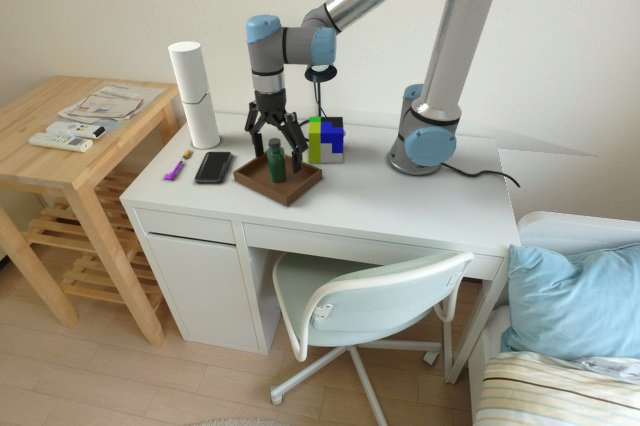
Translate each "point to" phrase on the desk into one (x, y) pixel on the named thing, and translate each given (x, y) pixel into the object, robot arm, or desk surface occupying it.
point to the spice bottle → (276, 161)
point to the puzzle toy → (326, 139)
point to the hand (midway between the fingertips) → (278, 163)
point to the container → (195, 93)
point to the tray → (284, 192)
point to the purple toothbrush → (177, 167)
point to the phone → (213, 168)
